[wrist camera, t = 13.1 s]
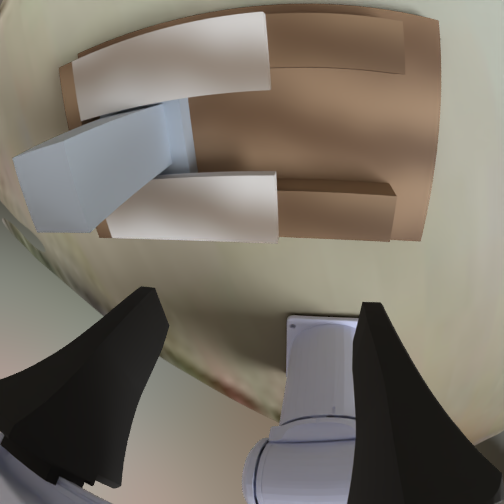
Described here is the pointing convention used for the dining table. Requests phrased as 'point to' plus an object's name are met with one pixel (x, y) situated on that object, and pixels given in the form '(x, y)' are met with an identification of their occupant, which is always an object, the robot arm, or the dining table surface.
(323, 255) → the dining table surface
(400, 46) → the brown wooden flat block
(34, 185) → the t stud
